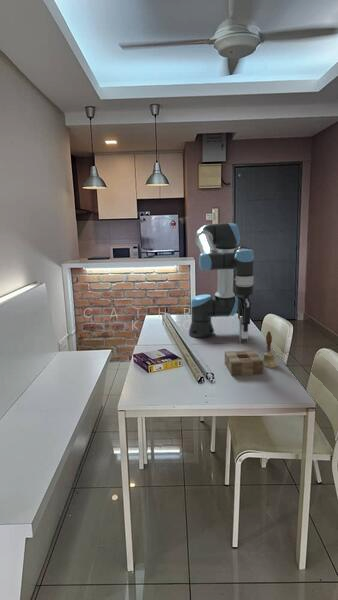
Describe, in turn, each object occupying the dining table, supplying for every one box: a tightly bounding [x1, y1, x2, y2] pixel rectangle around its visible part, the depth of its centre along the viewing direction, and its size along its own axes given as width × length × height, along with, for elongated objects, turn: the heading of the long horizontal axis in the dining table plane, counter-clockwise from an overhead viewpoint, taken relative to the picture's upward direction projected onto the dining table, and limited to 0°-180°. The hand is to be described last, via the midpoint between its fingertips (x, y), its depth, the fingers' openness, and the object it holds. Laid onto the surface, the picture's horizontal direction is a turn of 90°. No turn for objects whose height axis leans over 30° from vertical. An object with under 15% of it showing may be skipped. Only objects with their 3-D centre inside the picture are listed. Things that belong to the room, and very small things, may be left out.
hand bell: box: [262, 331, 279, 369], centre depth 170 cm, size 8×8×16 cm
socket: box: [224, 349, 264, 377], centre depth 167 cm, size 14×14×6 cm
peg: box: [238, 315, 249, 344], centre depth 163 cm, size 4×4×12 cm
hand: (243, 336), depth 164 cm, fingers closed on peg, 3 cm apart
